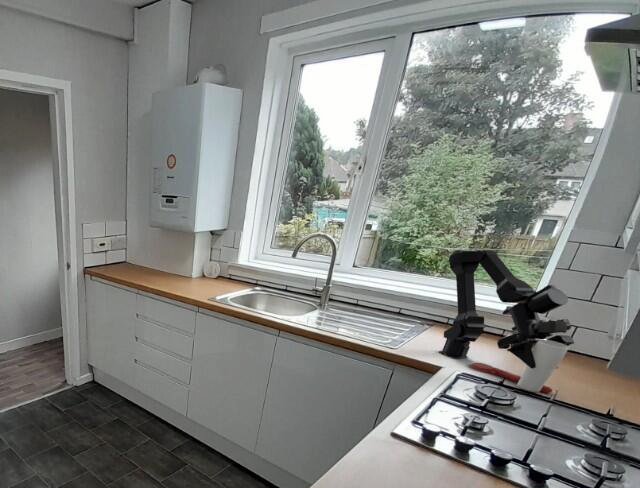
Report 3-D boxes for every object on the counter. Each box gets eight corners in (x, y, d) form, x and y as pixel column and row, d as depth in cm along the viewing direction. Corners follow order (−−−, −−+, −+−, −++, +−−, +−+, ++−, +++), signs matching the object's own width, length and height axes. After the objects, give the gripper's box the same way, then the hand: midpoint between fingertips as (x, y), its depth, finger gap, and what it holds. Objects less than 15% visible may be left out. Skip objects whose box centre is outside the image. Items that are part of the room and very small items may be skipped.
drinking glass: (525, 383, 128) (550, 339, 122) (548, 394, 122) (575, 348, 116) (507, 383, 127) (531, 339, 120) (530, 394, 121) (556, 348, 114)
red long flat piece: (466, 366, 142) (469, 360, 141) (479, 365, 143) (481, 359, 143) (543, 395, 122) (546, 389, 121) (556, 393, 124) (559, 387, 123)
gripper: (523, 307, 118) (542, 356, 112) (583, 309, 119) (605, 359, 113) (488, 324, 128) (504, 371, 122) (544, 326, 129) (563, 373, 123)
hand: (544, 368), depth 120 cm, fingers closed on drinking glass, 6 cm apart
